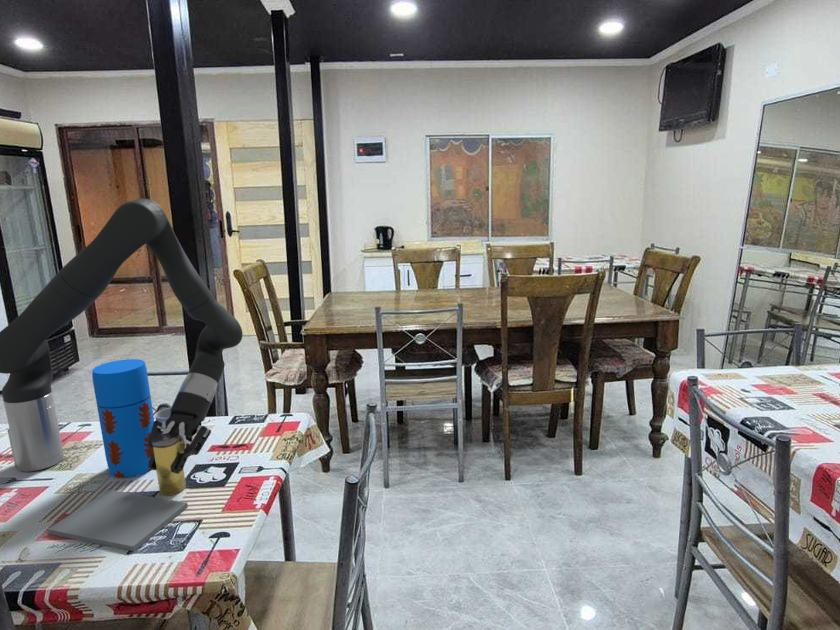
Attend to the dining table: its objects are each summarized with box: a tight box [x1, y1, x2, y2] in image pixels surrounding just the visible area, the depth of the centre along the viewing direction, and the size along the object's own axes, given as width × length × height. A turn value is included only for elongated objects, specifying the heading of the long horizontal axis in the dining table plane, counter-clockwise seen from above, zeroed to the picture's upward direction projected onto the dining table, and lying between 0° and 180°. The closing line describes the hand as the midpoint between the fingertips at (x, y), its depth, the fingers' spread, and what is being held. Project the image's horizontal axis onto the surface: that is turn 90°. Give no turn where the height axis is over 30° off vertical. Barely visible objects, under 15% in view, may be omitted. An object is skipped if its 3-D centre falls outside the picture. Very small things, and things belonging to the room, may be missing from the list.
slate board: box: [47, 489, 189, 552], centre depth 102 cm, size 20×14×1 cm
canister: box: [152, 433, 187, 496], centre depth 112 cm, size 5×5×12 cm
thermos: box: [91, 358, 155, 479], centre depth 120 cm, size 11×11×25 cm
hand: (163, 470), depth 110 cm, fingers closed on canister, 5 cm apart
